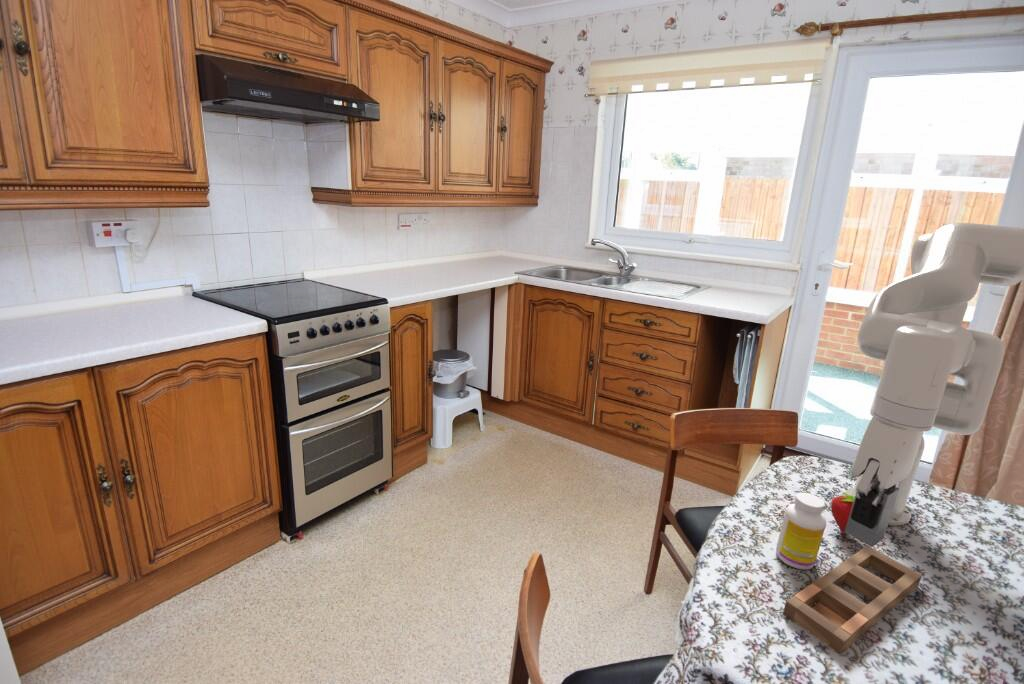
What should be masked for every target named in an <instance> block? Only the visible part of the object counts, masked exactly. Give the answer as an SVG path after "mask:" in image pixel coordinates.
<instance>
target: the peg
mask: <svg viewBox="0 0 1024 684" xmlns="http://www.w3.org/2000/svg"><path fill="white" fill-rule="evenodd" d="M874 482H875V483H878V484H880V481H877V480H874ZM871 490H872V491H874V493H875V494H876V492H877V490H878V489H875V488H873V487H871ZM898 492H899V488H897V487H895V486H892V487H890V488H888V489H885V490H884V492H883V495H882V497H881V500H880V503H879V505H880V506H881V508H880V512H879V515H878V518H877V521H876V524H875V527H874V528H873V529H870V528H868V527H866V526H864V525H862V524H860V523H858V522H856V521H854V520H852V519H851V514H852V510H853V507H854V504H855V500H856V495H857V493H858V491H857V492H856V495H855V499H854V502H853V505H852V509H851V512H850V515H849V519H848V522H847V525H846V529H845V532H844V533H846V534H845V535H847V536H850V537H852V538H854V539H856V540H858V541H860V542H862V543H863V544H865V545H866V546H867V545H868V546H869V547H871V548H873V547H875V546H876V545H877V544H879V543H880V542H881V541H883V540H884V539H885V535H886V532H887V529H888V526H889V525H888V523H889V520H890V517H891V514H892V511H893V508H894V505H895V502H896V499H897V496H898ZM844 533H843V534H844Z"/></svg>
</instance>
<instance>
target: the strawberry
mask: <svg viewBox="0 0 1024 684" xmlns="http://www.w3.org/2000/svg"><path fill="white" fill-rule="evenodd" d="M844 492H845V491H842V493H843V495H844V494H845V495H846V496H847V497H846V496H843V495H840V496H836V497H834V498H833V499H832V501H831V503H830V508H831V515H832V516H833V519H834V521H835V523H836V524H837V526H838V528H839V530H840V532H841V533H843V534H844V535H847V534H846V533H844V532H845V529H846V525H847V522H848V519H849V515H850V512H851V509H852V505H853V502H854V499H855V497H853V496H852V495H851V496H850V495H848V494H846V493H844ZM853 493H854V491H853Z"/></svg>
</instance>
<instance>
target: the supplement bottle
mask: <svg viewBox="0 0 1024 684" xmlns="http://www.w3.org/2000/svg"><path fill="white" fill-rule="evenodd" d="M825 506H826V504H825V502H824V500H823V499H822V498H820V497H819V496H817V495H815V494H812V493H809V492H798V493H796V494H795V497H794V503H791V504H790V505H788V506H787V507H786V509H785V513H784V517H783V520H782V525H781V527H780V528H781V529H780V530H779V531H780V532H779V535H778V540H777V544H776V549H775V552H776V555H777V557H778V559H779V560H781V561H782V562H783V563H784V564H786V565H787V566H789V567H792V568H795V569H799V570H811V569H812V568H813V567H814V566H815V564H816V562H817V559H818V554H819V550H820V547H821V543H822V539H823V536H824V531H825V530H826V526H827V519H826V517H825V515H824V514H823V511H824V510H825V509H824V508H825Z"/></svg>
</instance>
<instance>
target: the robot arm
mask: <svg viewBox="0 0 1024 684" xmlns="http://www.w3.org/2000/svg"><path fill="white" fill-rule="evenodd" d="M911 248H912V249H911V253H910V254H911V255H910V269H911V275H908V276H906V277H904V278H901V279H899V280H897V281H895V282H892V283H891V284H889V285H887V286H886V287H884V288H883V289H881V290H880V291H879V292H877V294H876V295H875V296H874V297H873V299H872V300H871V302H870V304H869V306H868V308H867V310H866V313H865V316H864V317H863V320H862V322H861V325H860V328H859V330H858V334H857V340H856V341H857V347H858V349H859V350H860V352H861V353H862V354H863V355H865V356H867V357H869V358H871V359H874V360H875V359H876V360H879V361H884V364H883V367H882V370H881V373H880V377H879V381H878V384H877V387H876V390H875V394H874V398H873V401H872V405H871V408H870V411H869V414H870V416H871V419H870V421H869V422H868V425H867V427H866V429H865V432H864V433H863V436H862V438H861V440H860V443H859V447H858V449H857V452H856V455H855V457H854V460H853V463H852V466H851V469H850V473H849V474H850V476H851V477H852V478H856V481H855V484H854V488H848V489H846V490H845V491H843V492H844V493H846V494H848V495H850V496H851V495H852V496H853V497H855V495H856V492H857V491H858V493H857V495H856V500H855V504H854V507H853V510H852V514H851V519H852V520H854V521H856V522H858V523H860V524H862V525H864V526H866V527H868V528H870V529H873V528H874V527H875V524H876V521H877V518H878V515H879V512H880V508H881V506H880V505H879V503H880V500H881V497H882V495H883V492H884V490H885V489H888V488H890V487H892V486H895V487H897V488H899V492H898V496H897V499H896V502H895V505H894V508H893V511H892V514H891V517H890V520H889V523H888V526H893V525H894V526H893V527H896V526H897V525H898V526H897V527H899V526H900V525H901V526H905V525H907V524H906V523H908V522H909V521H911V518H912V514H911V512H910V511H909V509H908V508H907V507H906V504H907V501H908V498H909V495H910V492H911V489H912V487H913V486H912V485H913V484H914V481H915V477H916V475H917V471H918V468H919V465H920V462H921V459H922V456H923V454H924V450H925V439H924V436H923V435H924V432H930V431H931V430H932V428H935V429H939V430H941V431H946V432H950V433H954V434H957V435H961V436H962V435H963V436H970V435H973V434H975V433H977V431H979V430H980V429H981V426H982V424H983V422H984V420H985V417H986V414H987V411H988V409H989V405H990V402H991V398H992V396H993V393H994V389H995V387H996V384H997V380H998V377H999V374H1000V371H1001V368H1002V364H1003V361H1004V355H1005V345H1004V343H1003V340H1001V338H999V337H998V336H997V335H995V334H992V333H989V332H985V331H984V332H983V331H979V330H973V329H968V328H966V327H963V325H962V324H963V321H964V318H965V315H966V312H967V310H968V307H969V306H968V304H969V302H970V301H971V300H972V299H974V298H975V295H977V292H978V289H979V286H980V284H984V285H985V284H986V285H992V286H993V285H994V286H1000V287H1013V286H1015V285H1017V284H1019V283H1021V281H1023V280H1024V227H1018V226H1017V227H1016V226H1007V225H997V224H996V225H994V224H986V223H985V224H982V223H973V222H971V223H970V222H955V223H950V224H946V225H944V226H941V227H939V228H937V229H936V230H935V231H934V232H932V233H930V232H929V233H925V234H922V235H920V236H918V237H917V239H916V240H915V241H914V243H913V245H912V247H911ZM906 314H909V315H906ZM950 376H952V377H957V378H959V379H961V380H962V381H963V383H964V384H963V385H962V384H958V383H953V382H950V381H949V378H950ZM874 480H877V481H880V484H878V483H875V482H874ZM871 487H873V488H875V489H878V490H877V492H876V494H875V493H874V491H872V490H871ZM853 491H854V493H853ZM844 493H843V495H842V496H846V495H845V494H844ZM846 497H847V496H846ZM909 523H910V522H909ZM909 523H908V524H909ZM904 524H905V525H904Z"/></svg>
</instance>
